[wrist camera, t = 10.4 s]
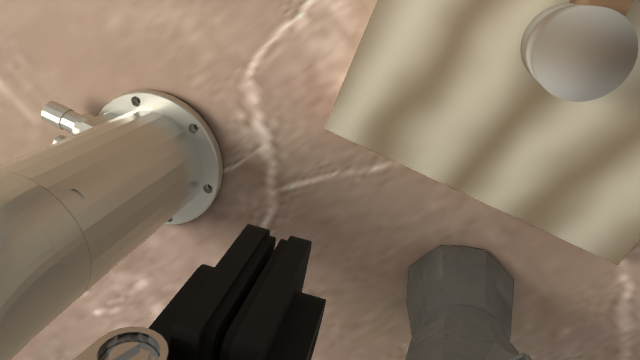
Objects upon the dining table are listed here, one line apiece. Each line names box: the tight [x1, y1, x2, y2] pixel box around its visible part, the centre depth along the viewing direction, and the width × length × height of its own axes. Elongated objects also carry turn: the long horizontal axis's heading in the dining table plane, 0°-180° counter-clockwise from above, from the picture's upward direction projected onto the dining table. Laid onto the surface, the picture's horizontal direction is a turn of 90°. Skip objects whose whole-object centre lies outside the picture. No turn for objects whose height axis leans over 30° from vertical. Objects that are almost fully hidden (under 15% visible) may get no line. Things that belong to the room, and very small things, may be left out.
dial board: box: [324, 0, 640, 265], centre depth 31 cm, size 24×24×2 cm
